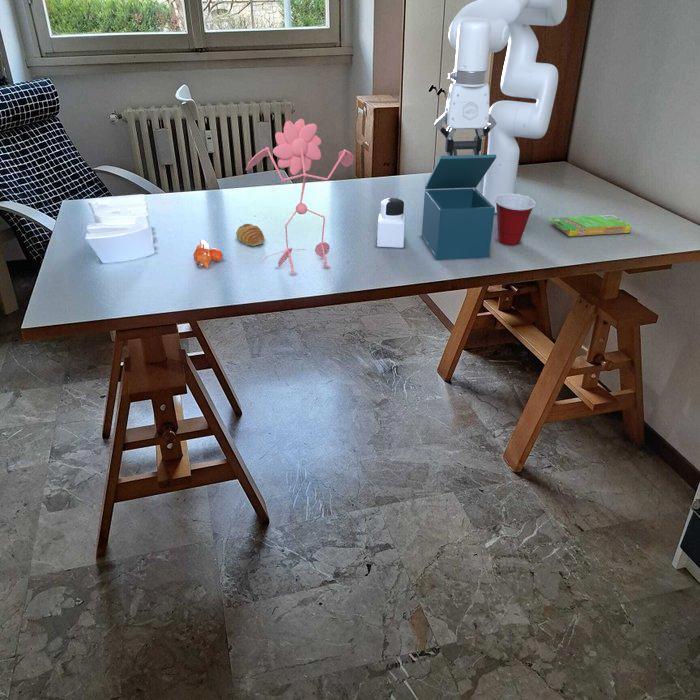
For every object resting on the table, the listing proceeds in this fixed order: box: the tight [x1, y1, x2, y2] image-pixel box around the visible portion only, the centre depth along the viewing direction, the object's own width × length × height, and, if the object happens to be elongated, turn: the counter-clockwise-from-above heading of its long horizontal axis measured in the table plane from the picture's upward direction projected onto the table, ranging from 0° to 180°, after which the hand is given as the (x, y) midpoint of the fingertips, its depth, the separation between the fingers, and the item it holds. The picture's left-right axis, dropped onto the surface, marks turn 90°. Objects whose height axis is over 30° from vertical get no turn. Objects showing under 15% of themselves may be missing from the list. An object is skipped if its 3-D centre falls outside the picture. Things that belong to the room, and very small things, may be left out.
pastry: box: [235, 223, 265, 247], centre depth 179 cm, size 9×7×4 cm
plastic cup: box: [495, 193, 537, 247], centre depth 178 cm, size 11×11×12 cm
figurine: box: [245, 118, 355, 275], centre depth 160 cm, size 15×26×35 cm, turn 118°
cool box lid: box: [424, 140, 496, 190], centre depth 170 cm, size 17×14×6 cm
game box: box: [549, 214, 632, 237], centre depth 190 cm, size 3×10×20 cm
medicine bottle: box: [376, 197, 407, 249], centre depth 177 cm, size 7×7×12 cm
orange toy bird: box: [193, 239, 223, 269], centre depth 166 cm, size 5×8×12 cm
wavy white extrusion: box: [85, 193, 156, 264], centre depth 175 cm, size 35×16×10 cm, turn 13°
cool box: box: [421, 187, 495, 261], centre depth 175 cm, size 17×14×13 cm
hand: (462, 154), depth 166 cm, fingers closed on cool box lid, 6 cm apart
